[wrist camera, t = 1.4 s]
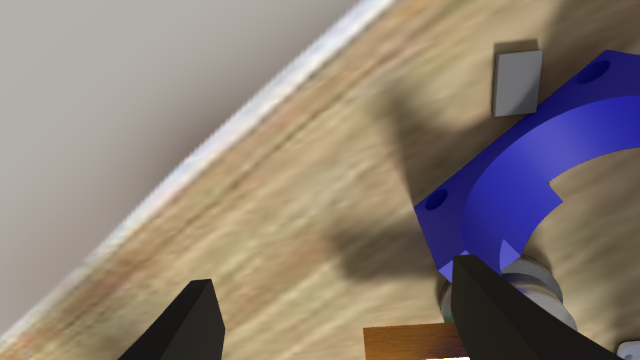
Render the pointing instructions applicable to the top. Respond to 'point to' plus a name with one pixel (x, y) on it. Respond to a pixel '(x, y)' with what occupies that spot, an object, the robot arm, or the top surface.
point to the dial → (450, 329)
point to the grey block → (517, 82)
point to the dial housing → (517, 266)
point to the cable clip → (532, 165)
